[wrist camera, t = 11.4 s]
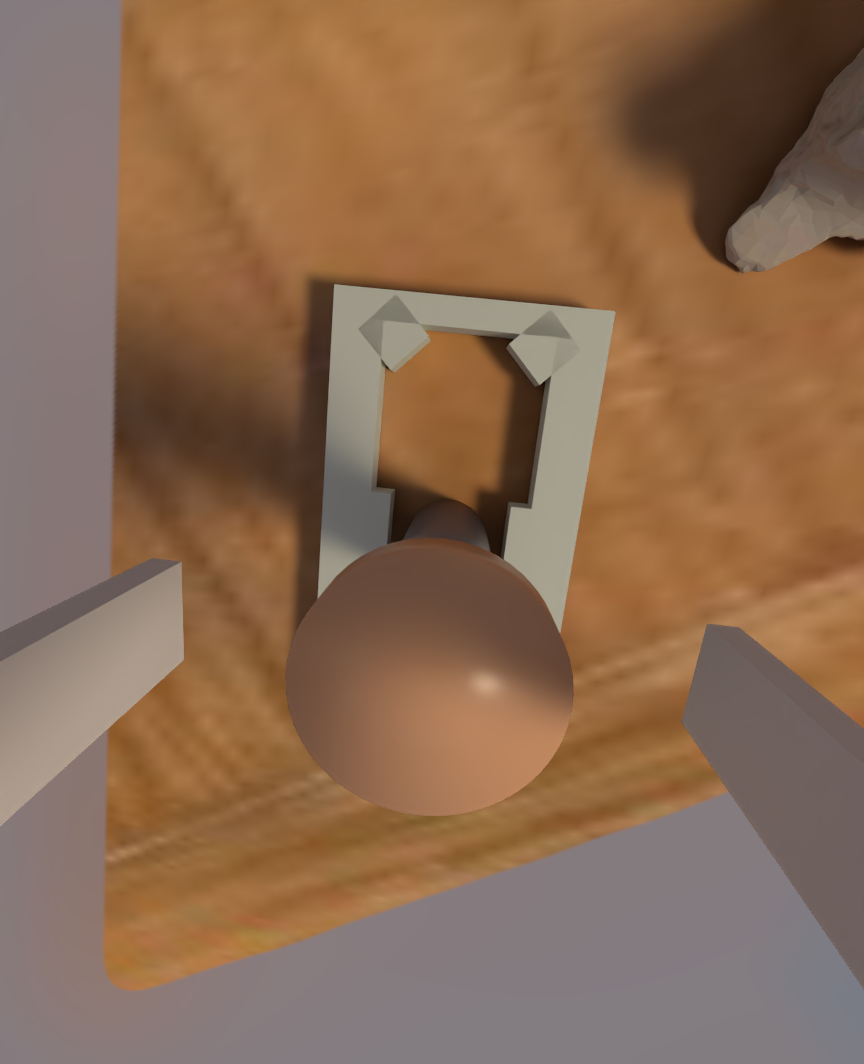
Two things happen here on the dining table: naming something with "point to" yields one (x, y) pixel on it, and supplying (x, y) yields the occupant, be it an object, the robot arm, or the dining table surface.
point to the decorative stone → (810, 184)
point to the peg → (431, 672)
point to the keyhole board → (563, 436)
